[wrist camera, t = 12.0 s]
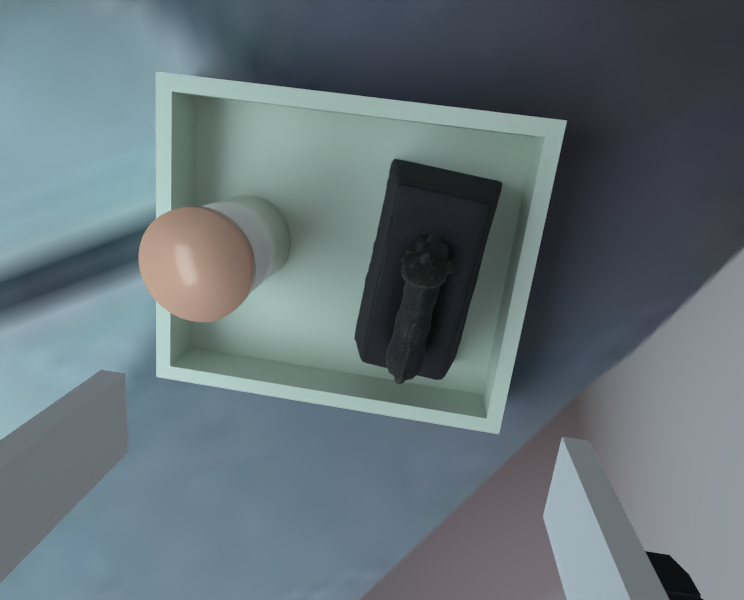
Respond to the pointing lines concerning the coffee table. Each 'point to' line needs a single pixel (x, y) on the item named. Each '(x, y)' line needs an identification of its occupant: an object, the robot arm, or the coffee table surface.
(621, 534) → the robot arm
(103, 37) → the coffee table surface
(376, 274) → the sculpture
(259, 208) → the jar
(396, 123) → the tote
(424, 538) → the coffee table surface
